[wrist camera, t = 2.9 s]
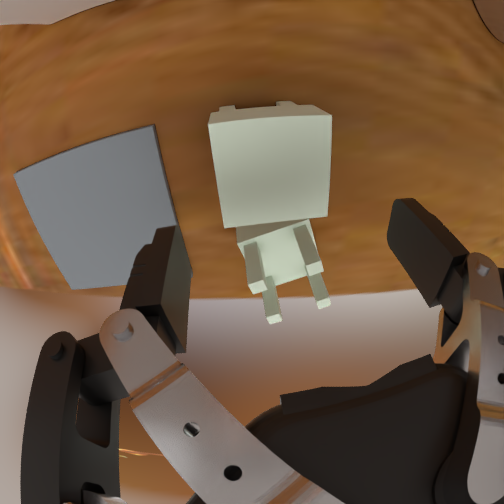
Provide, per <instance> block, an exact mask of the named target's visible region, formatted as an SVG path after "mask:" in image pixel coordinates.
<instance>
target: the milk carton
mask: <svg viewBox="0 0 504 504" xmlns="http://www.w3.org/2000/svg"><path fill="white" fill-rule="evenodd" d="M111 1H115V0H0V25H6V24H53V23H55V22H57V21H60V20H62V19H64V18H67V17H69V16H71V15H74V14H76V13H79V12H82V11H84V10H87V9H90V8H93V7H96V6H99V5H102V4H105V3H108V2H111Z"/></svg>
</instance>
